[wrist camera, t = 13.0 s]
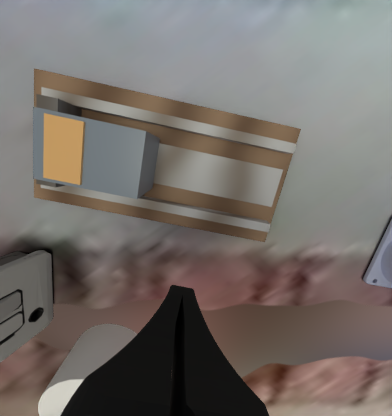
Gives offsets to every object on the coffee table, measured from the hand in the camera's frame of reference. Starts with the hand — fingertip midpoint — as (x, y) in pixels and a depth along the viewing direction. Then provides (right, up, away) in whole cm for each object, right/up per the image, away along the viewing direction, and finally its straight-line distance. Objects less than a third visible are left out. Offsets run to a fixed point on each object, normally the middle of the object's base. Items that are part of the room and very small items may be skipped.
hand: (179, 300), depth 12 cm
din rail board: (-2, +10, +7) cm, 12 cm away
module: (-6, +10, +6) cm, 13 cm away
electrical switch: (-18, -3, +10) cm, 21 cm away
